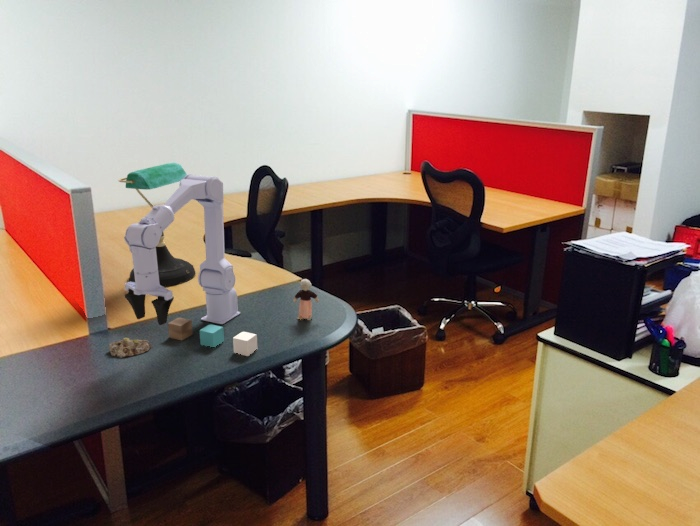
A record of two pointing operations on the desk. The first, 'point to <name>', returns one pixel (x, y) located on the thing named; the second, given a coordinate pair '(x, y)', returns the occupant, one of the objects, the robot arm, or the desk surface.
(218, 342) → the teal block
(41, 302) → the desk surface
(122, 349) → the mineral rock
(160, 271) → the banker's lamp
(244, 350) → the white block
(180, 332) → the walnut block
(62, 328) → the desk surface
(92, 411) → the desk surface
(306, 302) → the grandmother figurine
